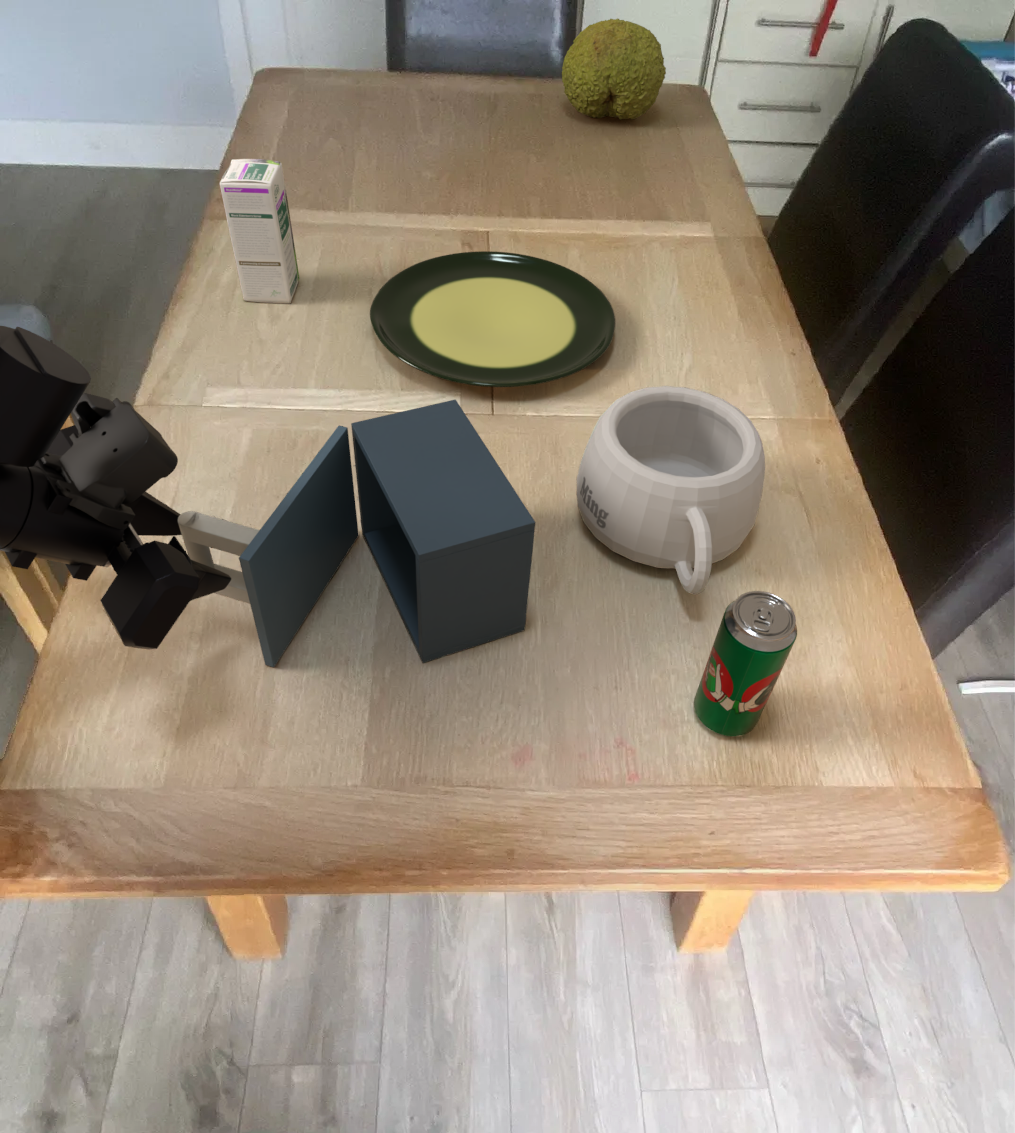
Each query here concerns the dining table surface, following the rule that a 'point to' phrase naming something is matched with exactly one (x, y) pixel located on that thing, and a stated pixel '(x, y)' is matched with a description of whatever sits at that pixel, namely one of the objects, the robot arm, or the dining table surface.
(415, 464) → the cabinet
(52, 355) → the robot arm
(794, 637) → the soda can
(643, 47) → the fruit
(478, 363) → the plate
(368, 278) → the dining table surface
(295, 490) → the cabinet door
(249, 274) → the syrup box
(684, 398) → the mug
